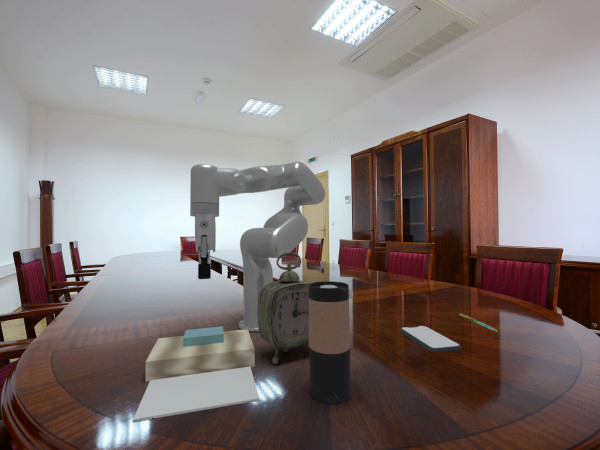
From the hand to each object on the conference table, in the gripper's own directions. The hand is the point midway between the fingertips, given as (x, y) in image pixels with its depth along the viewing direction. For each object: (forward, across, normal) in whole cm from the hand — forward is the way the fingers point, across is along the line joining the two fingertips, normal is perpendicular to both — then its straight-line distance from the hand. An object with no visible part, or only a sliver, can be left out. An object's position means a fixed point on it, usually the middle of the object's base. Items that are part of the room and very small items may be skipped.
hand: (204, 278), depth 78 cm
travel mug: (+18, -32, -23) cm, 43 cm away
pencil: (+18, -8, -85) cm, 87 cm away
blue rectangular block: (+14, -8, 0) cm, 16 cm away
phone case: (+18, -15, -59) cm, 64 cm away
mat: (+18, -24, 0) cm, 30 cm away
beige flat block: (+18, -10, 0) cm, 20 cm away
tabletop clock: (+18, -13, -20) cm, 30 cm away
